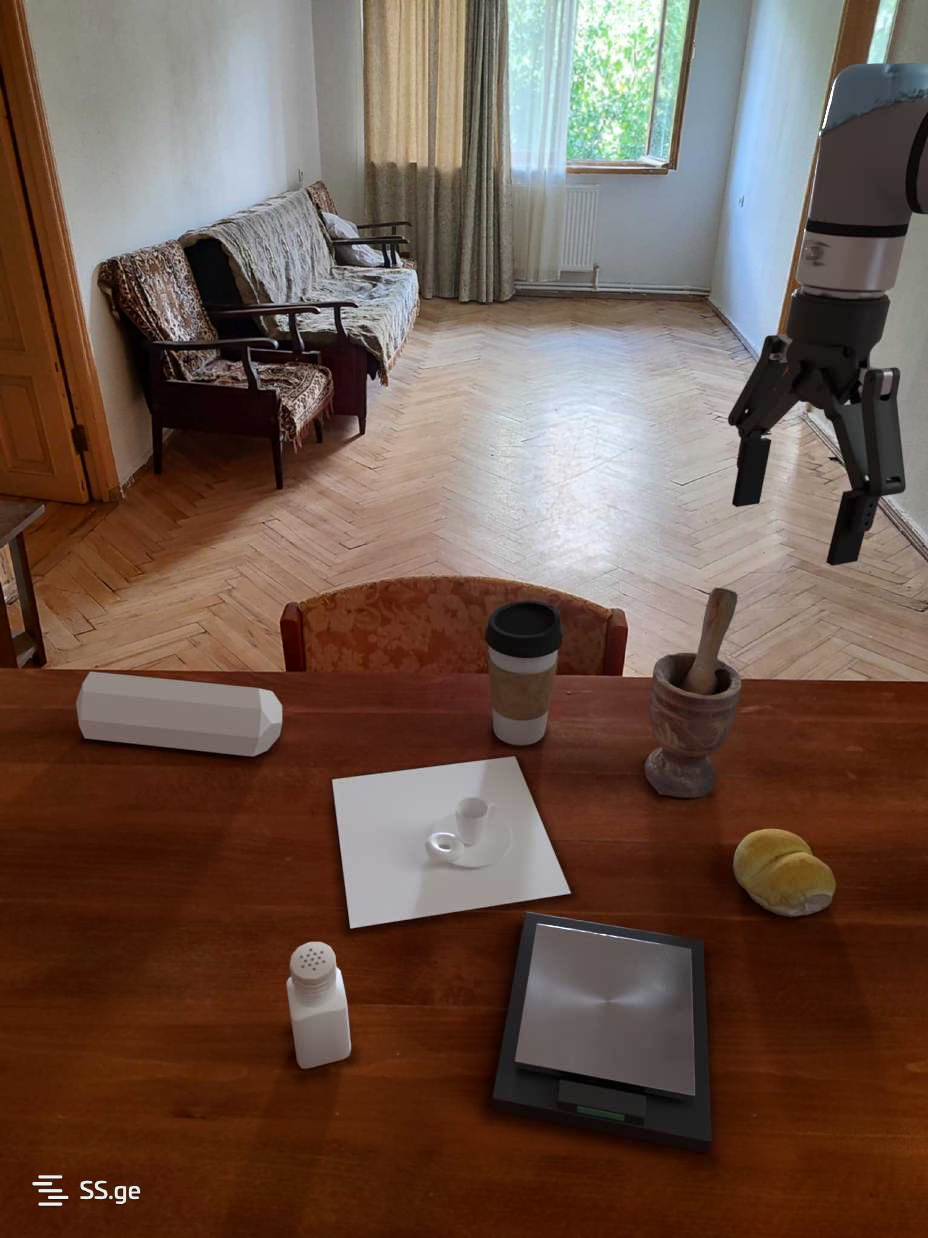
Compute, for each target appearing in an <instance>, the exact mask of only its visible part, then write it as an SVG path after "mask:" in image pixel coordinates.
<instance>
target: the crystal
mask: <svg viewBox="0 0 928 1238" xmlns="http://www.w3.org/2000/svg"><path fill="white" fill-rule="evenodd" d="M75 706H76V712H77V713H76V714H77V720H78V727H79V729H80V731H81V733H82V735H83V738H84V739H89V740H97V741H105V742H106V741H107V742H115V743H126V744H134V745H144V746H152V747H163V748H171V749H181V750H190V751H199V752H206V753H218V754H227V755H234V756H242V757H243V756H244V757H245V756H246V757H251V758H253V757H256V756H258V755H260V754H263V753H265V752H267V751H269V749H270V748H271V747H272V746H273V745H274V743H275V742H276V741H277V740H278V739H279V737H280V736H281V730H282V726H283V704H282V703H281V701H280V700H279V699H278V697H277V696H276V694H275V693H274V691H272V690H268V689H264V688H260V687H252V686H251V687H249V686H241V685H240V686H239V685H229V684H222V683H221V684H219V683H209V682H200V681H190V680H180V679H179V680H178V679H169V678H159V677H149V676H139V675H129V674H120V673H118V674H117V673H109V672H99V671H89V673H88V674H87V676H86V677H85V679H84V681H83V682H82V684H81V687H80V689H79V693H78V696H77V697H76V701H75Z"/></svg>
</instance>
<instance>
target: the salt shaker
mask: <svg viewBox="0 0 928 1238" xmlns="http://www.w3.org/2000/svg"><path fill="white" fill-rule="evenodd" d="M336 959H337V958H336V954H335V952H334V950H333V949H332V946H330V945H328V944H326V943H324V942H323V941H309V942H307V943H306V942H305V943H304V944H302V945H300V946H297V948H296V949H295V951H293V953H292V954H291V955H290V961H289V971H290V977H288V979H287V981H286V982H285V983H286V992H287V999H288V1006H289V1014H290V1020H291V1027H292V1035H293V1041H294V1049H295V1057H296V1062H297V1064H298V1066H299V1067H300V1068H301V1069H305V1070H308V1069H311V1068H315V1067H318V1066H319V1067H320V1066H323V1065H326V1064H330V1063H331V1064H332V1063H335V1062H338V1061H342V1060H346V1059H347V1058H348V1057H349V1056H350V1055H351V1051H352V1042H351V1032H350V1020H349V1019H350V1018H349V1009H348V1001H347V996H346V990H345V985H344V980H343V976H342V971H341V970H340V968H339V967H338V966H337V962H336V961H337V960H336Z"/></svg>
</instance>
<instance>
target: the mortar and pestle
mask: <svg viewBox="0 0 928 1238" xmlns="http://www.w3.org/2000/svg"><path fill="white" fill-rule="evenodd" d="M738 596H739V595H738V593H737V592H736V591H734V590H732V589H728V588H723V587H713V589H712V590H711V592H710V593H709V595H708V599H707V603H706V606H705V611H704V616H703V621H702V629H701V636H700V641H699V644H698V648H697V649H698V650H697V652H677V653H674V654H666V655H665V656H663V657H660V659H659V658H658V660H657V661H656V662H655V663H654V666H653V671H652V679H651V680H652V681H651V691H650V696H649V714H648V715H649V723H650V728H651V732H652V735H653V737H654V739H655V740H656V742H657V743H658V744H659V745H660V746H659V747H658V748H655V749H654V750H652V752H651V753H650V755H649V756H648V757H647V758H646V761H645V764H644V776H645V778H646V779H647V781H648V782H649V784H650V786H651V787H653V788H654V789H655V790H656V792H657V793H658V794H659V795H661V796H663V795H665V796H669V797H673V798H682V799H683V798H685V799H694V798H695V799H696V798H701V797H704V796H707V795H708V794H709V793H710V792H712V791H713V788H714V786H715V783H716V778H717V777H716V772H715V771H714V766H713V763H712V761H711V759H710V758H709V757H708V756H710V755H713V754H714V753H716V752H717V751H718V750H719V749H720V748H721V746H722V745H723V743H724V741H725V740H726V738H727V736H728V735H729V733H730V731H731V729H732V726H733V723H734V720H735V718H736V713H737V706H738V704H739V699H740V695H741V692H742V688H743V687H742V679H741V676H740V675H739V673H738V672H737V671H736V669H735V668H733V667H732V666H730V665H728V664H727V663H726V662H724V661H722V660H721V659H719V658H718V657H719V653H720V649H721V646H722V645H723V641H724V637H725V635H726V633H727V632H728V630H729V627H730V625H731V622H732V620H733V617H734V615H735V612H736V607H737V604H738Z"/></svg>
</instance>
